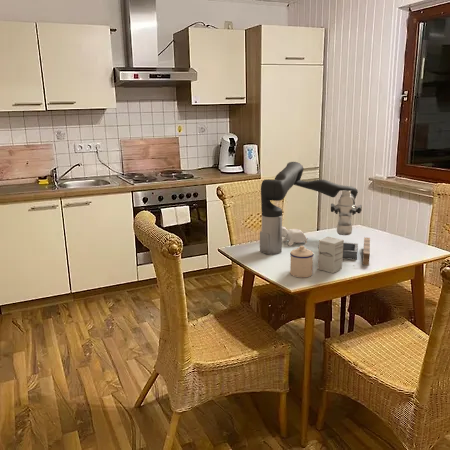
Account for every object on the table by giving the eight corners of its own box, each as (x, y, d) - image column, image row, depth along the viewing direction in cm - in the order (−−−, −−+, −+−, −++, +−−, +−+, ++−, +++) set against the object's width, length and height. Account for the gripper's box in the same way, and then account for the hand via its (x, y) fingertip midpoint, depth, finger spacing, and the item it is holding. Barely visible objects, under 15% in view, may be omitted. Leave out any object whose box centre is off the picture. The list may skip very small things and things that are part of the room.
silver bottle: (352, 237, 197) (355, 192, 191) (336, 236, 198) (338, 192, 193) (351, 233, 203) (354, 189, 197) (335, 232, 204) (338, 189, 199)
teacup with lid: (317, 276, 177) (318, 247, 174) (297, 279, 174) (298, 251, 171) (300, 266, 188) (301, 239, 185) (281, 269, 184) (282, 242, 181)
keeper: (356, 259, 195) (357, 251, 194) (327, 257, 199) (327, 249, 198) (357, 250, 206) (358, 243, 205) (329, 248, 210) (330, 241, 209)
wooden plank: (368, 265, 188) (369, 253, 187) (362, 264, 189) (363, 253, 188) (369, 248, 210) (369, 237, 209) (363, 247, 211) (364, 237, 210)
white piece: (297, 245, 226) (271, 237, 221) (303, 230, 224) (277, 221, 220) (304, 250, 218) (277, 242, 213) (311, 234, 216) (284, 225, 212)
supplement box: (317, 269, 184) (318, 239, 181) (326, 264, 189) (328, 236, 186) (333, 273, 179) (334, 243, 176) (342, 269, 184) (344, 239, 181)
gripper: (331, 195, 212) (328, 203, 196) (363, 196, 207) (362, 204, 192) (330, 210, 214) (327, 219, 198) (362, 212, 210) (361, 221, 194)
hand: (344, 212), depth 195 cm, fingers closed on silver bottle, 6 cm apart
